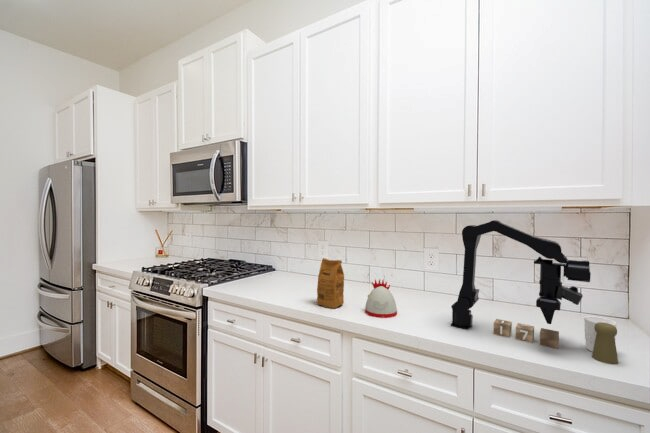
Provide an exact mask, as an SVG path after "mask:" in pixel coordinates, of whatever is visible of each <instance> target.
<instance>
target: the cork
mask: <svg viewBox="0 0 650 433" xmlns="http://www.w3.org/2000/svg"><path fill="white" fill-rule="evenodd" d="M594 329H595V331H596V333H597V334H596V339H595V344H594V349H593V352H592V354H591V357H592V358H593V359H594V361H595V360H596V361H598V362H600V363H603V364H604V363H605V364H608V365H609V364H610V365H618V364H619V357H618V351H617V345H616V336H617V335H618V329H617V326H616V327H615V326H613V325H611V324H608V323H602V322H599V323H596V324H595V326H594Z"/></svg>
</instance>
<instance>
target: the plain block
mask: <svg viewBox="0 0 650 433" xmlns="http://www.w3.org/2000/svg"><path fill="white" fill-rule="evenodd" d="M559 341H560V331H558V330H553V329H548V328H543V327H541V328H540V330H539V346H543V347H547V348H551V349H556V350H559V345H560V342H559Z"/></svg>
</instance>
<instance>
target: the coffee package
mask: <svg viewBox="0 0 650 433" xmlns="http://www.w3.org/2000/svg"><path fill="white" fill-rule="evenodd" d="M342 264H343V262H342V259H341V260H340V259H335V260H333V259H331V260H330V259H327V258H324V257H323V258H322V260H321V263H320V267H319V273H318V277H317V287H316V294H317V295H316V296H317V298H316V305H317V306H323V307H324V308H327V309H328V308H330V309H337V308H338V307H340V306H343V304H344V299H345V298H344V291H345V274H344V273H345V272H344V270H343V267H342Z"/></svg>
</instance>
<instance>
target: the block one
mask: <svg viewBox="0 0 650 433" xmlns="http://www.w3.org/2000/svg"><path fill="white" fill-rule="evenodd" d="M512 322H513V321H511V320H503V319H499V318H495V320H494V321H493V335H495V336H499V337H505V338H508V339H509V338H510V337H511V336H512V328H513V327H512V325H513V323H512Z"/></svg>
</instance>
